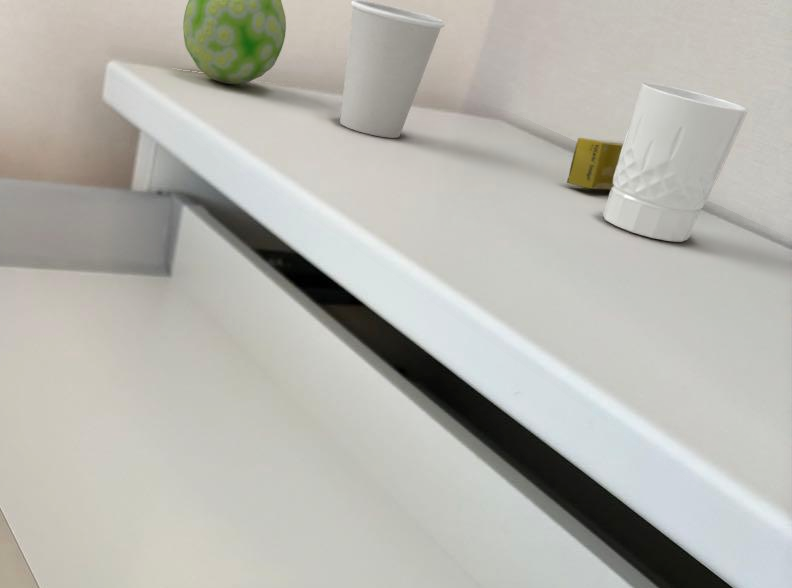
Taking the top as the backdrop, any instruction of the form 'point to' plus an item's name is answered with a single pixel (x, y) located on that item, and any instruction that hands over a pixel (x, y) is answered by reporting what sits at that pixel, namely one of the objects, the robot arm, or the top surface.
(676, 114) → the white cup
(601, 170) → the medication box
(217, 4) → the decorative ball
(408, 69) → the dixie cup
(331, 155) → the top surface
